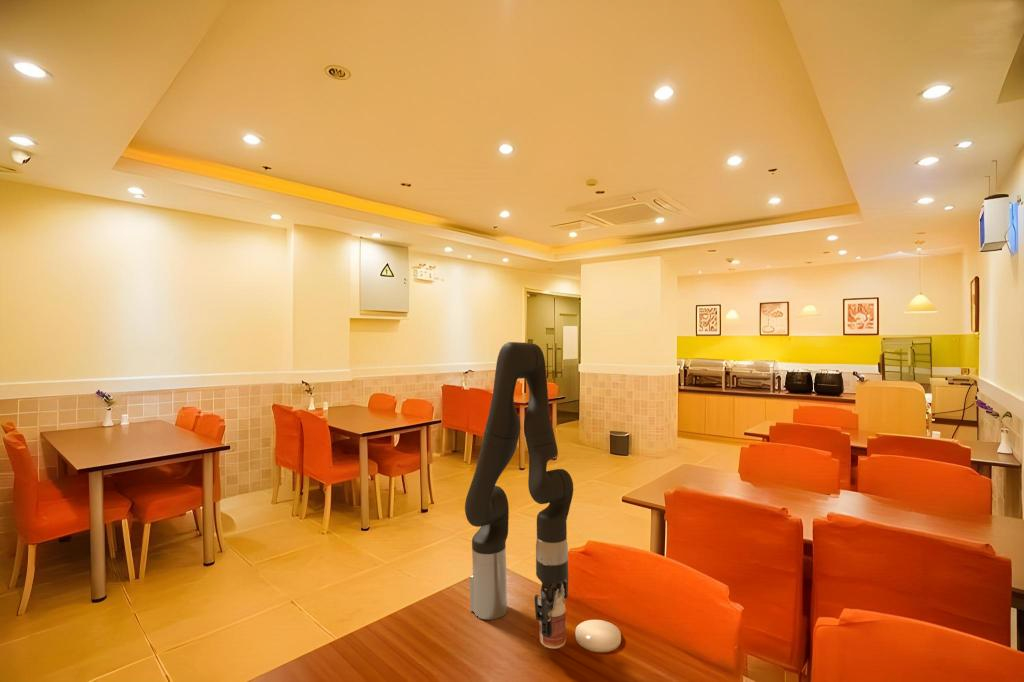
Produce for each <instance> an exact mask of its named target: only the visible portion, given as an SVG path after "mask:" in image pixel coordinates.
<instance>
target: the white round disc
mask: <svg viewBox="0 0 1024 682" xmlns="http://www.w3.org/2000/svg"><path fill="white" fill-rule="evenodd" d="M574 635H575V640H576V642H577V644H579V646H581V647H582V649H585V650H587V651H590V652H594V653H608V652H612V651H614V650H617V649H618V648H619V647H620V645H621V644H622V643H621V642H622V633H621V631H620V629H619V627H617V626H616V625H614V624H613V623H611V622H608V621H606V620H603V619H602V620H601V619H588V620H585V621H582V622H580V623H579V624H578V625H577V626H576V628H575V634H574Z"/></svg>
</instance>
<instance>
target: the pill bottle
mask: <svg viewBox="0 0 1024 682" xmlns="http://www.w3.org/2000/svg"><path fill="white" fill-rule="evenodd" d="M551 604H552V603H549V602H547V605H550V606H551ZM548 611H549V610H548V609H547V613H548ZM566 611H567V610H566V605H565V604H564V603H563V602H562V593H560V592H559V593H558V597H557V599H556V605H555V610H553V611H552V617H551V627H552V635H551V636H550V637H546V636H543V635H542V625H541V621H539V642H540V643H541V644H542V645H543V646H544V647H545V648H549V649H559V648H562V647H563V646H565V644H566V641H567V629H566V628H567V625H566V623H567V621H566V615H567V614H566Z"/></svg>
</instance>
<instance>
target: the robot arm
mask: <svg viewBox="0 0 1024 682" xmlns="http://www.w3.org/2000/svg"><path fill="white" fill-rule="evenodd" d="M495 365H496V366H495V372H494V373H495V374H494V381H493V388H492V396H491V401H490V407H489V411H488V416H487V420H486V423H485V428H484V432H483V435H482V442H481V446H480V451H479V455H478V459H477V462H476V463H477V464H476V467H475V471H474V473H473V477H472V480H471V483H470V485H469V486H470V487H469V489H468V491H467V494H466V498H465V502H464V512H465V517H466V520H467V522H468V524H470V525H471V526H473V527H475V528H476V527H477V528H478V527H479V529H478V530H477V531H476V532H475V534H474V535H473V536H472V538H471V550H472V551H471V553H472V554H471V555H472V559H471V560H472V574H470V576H469V602H470V607H469V608H470V610H471V611H473V612H474V613H475V614H474V613H473V612H472V613H473V614H474V616H476V617H477V616H478V617H477V618H478V619H481V620H486V621H487V620H490V621H491V620H497V619H500V618H501V617H504V616H505V614H506V613H507V611H508V589H507V586H508V585H507V550H506V549H507V548H506V546H507V545H506V543H507V538H508V534H509V517H510V516H509V513H510V511H509V510H510V509H509V506H510V505H509V501H508V496H507V494H506V491H504V489H503V488H502V487H500V486H498V485H496V484H497V482H498V480H499V478H500V477H501V475H502V473H503V472H504V471H505V469H506V468H507V466H508V465H509V463H510V462H511V460H512V458H513V457H514V455H515V452H516V450H517V447H518V442H519V438H520V434H521V421H520V417H519V414H518V412H517V408H516V404H515V399H514V398H515V392H516V391H515V390H516V386H517V382H518V379H525V380H526V383H527V387H528V402H527V403H528V404H527V407H526V408H527V409H526V412H525V416H524V422H523V431H524V437H525V442H526V447H527V452H528V480H527V481H528V485H527V486H528V491H529V494H530V496H531V498H532V499H533V501H534V502H535V503H537V504H540V505H546V504H548V506H547V507H545V508H544V509H542V510H541V511H539V512H538V514H537V516H536V542H535V575H536V577H537V579H538V580H539V581H540V582H541V588H540V594H535V595H534V609H535V610H534V611H535V620H536V621H541V625H542V635H543V636H546V637H550V636H551V635H552V627H551V617H552V611H553V610H555V605H556V599H557V597H558V593H559V592H560V593H562V602H563V603H564V604H565V603H566V599H568V596H569V594H568V593H569V545H568V538H567V537H568V535H567V534H568V531H567V520H568V516H569V513H570V509H571V504H572V499H573V495H574V482H573V478H572V476H571V474H570V473H569V471H568V470H566V469H564V468H555V469H550V470H547V467H548V466H547V465H548V462H549V461H551V460H553V459H555V458H557V457H558V453H559V451H558V446H557V441H556V437H555V433H554V428H553V424H552V420H551V415H550V406H549V393H548V392H549V391H548V380H547V379H548V378H547V370H546V368H547V367H546V359H545V355H544V352H543V350H542V348H541V347H540V346H539V345H538V344H536V343H531V342H519V341H518V342H517V341H510V342H509V341H508V342H506V343H504V344H503V345H502V346H501V348H500V350H499V353H498V356H497V360H496V364H495ZM547 602H549V603H552V604H551V606H550V605H547ZM547 609H548V610H549V611H548V613H547ZM471 611H470V612H471Z"/></svg>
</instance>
